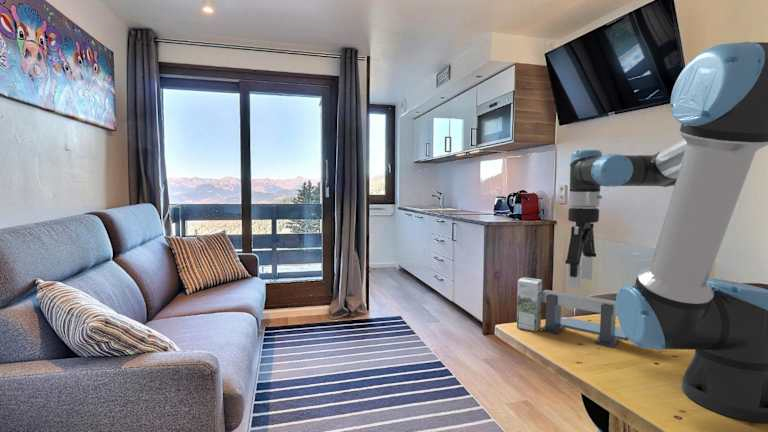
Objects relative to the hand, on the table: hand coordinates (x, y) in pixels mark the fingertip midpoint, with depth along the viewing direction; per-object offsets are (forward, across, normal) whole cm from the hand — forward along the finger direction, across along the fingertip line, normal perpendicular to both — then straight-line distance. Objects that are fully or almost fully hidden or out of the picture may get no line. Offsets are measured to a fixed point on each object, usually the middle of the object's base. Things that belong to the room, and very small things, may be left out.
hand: (580, 283), depth 110 cm
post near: (+15, 0, -7) cm, 16 cm away
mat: (+15, +8, 0) cm, 17 cm away
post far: (+15, 0, +7) cm, 16 cm away
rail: (+7, 0, 0) cm, 7 cm away
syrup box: (+15, -3, +13) cm, 20 cm away
